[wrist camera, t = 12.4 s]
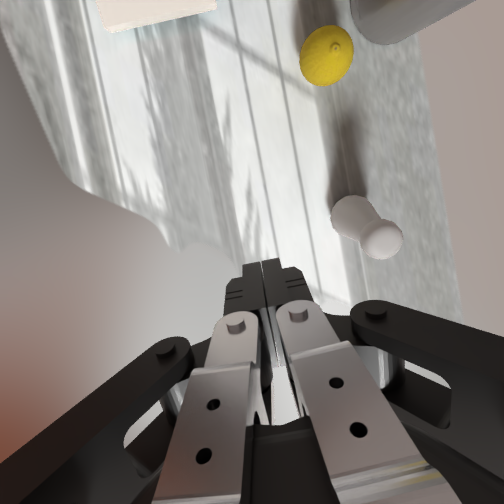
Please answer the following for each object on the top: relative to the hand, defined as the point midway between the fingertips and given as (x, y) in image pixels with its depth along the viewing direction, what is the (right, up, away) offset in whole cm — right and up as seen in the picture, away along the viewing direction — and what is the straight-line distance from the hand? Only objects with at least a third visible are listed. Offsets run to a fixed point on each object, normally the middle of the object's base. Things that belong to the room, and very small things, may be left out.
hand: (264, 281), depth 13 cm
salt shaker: (+13, +7, +32) cm, 35 cm away
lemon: (+7, +24, +25) cm, 36 cm away
